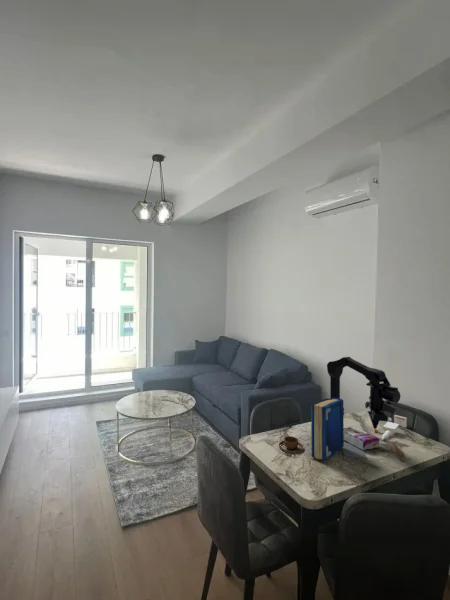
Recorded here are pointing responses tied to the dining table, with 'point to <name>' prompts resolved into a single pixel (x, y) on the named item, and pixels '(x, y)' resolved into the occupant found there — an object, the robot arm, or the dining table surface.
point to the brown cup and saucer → (291, 444)
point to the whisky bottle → (392, 425)
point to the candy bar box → (360, 438)
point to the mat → (353, 451)
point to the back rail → (398, 452)
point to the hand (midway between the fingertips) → (375, 428)
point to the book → (327, 428)
